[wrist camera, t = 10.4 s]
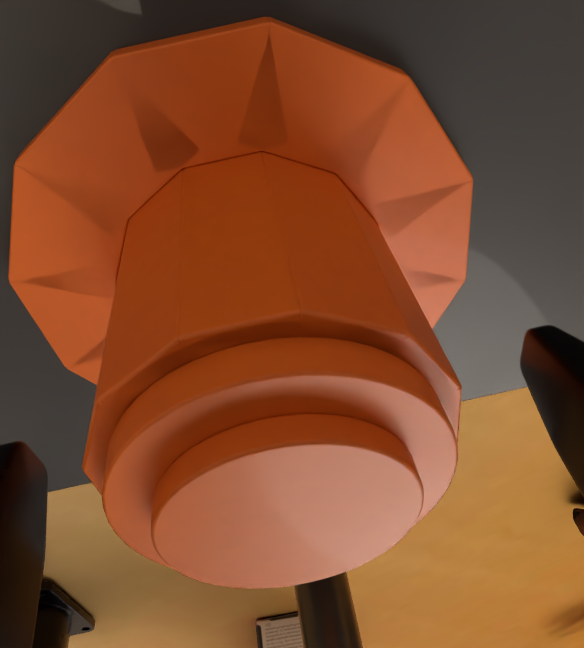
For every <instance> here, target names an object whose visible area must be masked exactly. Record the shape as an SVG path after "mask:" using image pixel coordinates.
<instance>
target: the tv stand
mask: <svg viewBox="0 0 584 648" xmlns="http://www.w3.org/2000/svg"><path fill="white" fill-rule="evenodd" d="M261 17H272V18H274V19H277V20H279V21H282V22H284V23H287V24H289V25H292V26H294V27H297V28H299V29H302V30H304V31H307V32H309V33H312V34H314V35H317V36H319V37H322V38H324V39H327V40H329V41H332V42H335V43H337V44H340V45H342V46H345V47H347V48H350V49H352V50H355V51H357V52H360V53H362V54H365V55H367V56H370V57H372V58H375V59H377V60H380V61H382V62H385V63H387V64H390V65H392V66H395V67H397V68H400V69H402V70H403V71H404V72H405V73H406V74H407V75H408V76H409V77H411V79H412V80H413V82H414V84H415V85H416V87H417V88H418V90H419V92H420V93H421V95H422V96H423V98H424V100H425V101H426V103H427V104H428V106H429V107H430V109H431V111H432V112H433V114H434V115H435V117H436V119H437V120H438V122H439V123H440V125H441V127H442V128H443V130H444V131H445V133H446V135H447V136H448V138H449V139H450V141H451V143H452V144H453V146H454V147H455V149H456V151H457V152H458V154H459V155H460V157H461V159H462V160H463V162H464V163H465V165H466V167H467V168H468V170H469V171H470V173H471V175H472V178H473V191H472V204H471V218H470V232H469V246H468V260H467V273H466V279H465V282H464V283H463V285H462V286H461V288H460V289H459V291H458V292H457V294H456V295H455V297H454V298H453V300H452V301H451V302H450V304H449V305H448V307H447V308H446V310H445V311H444V313H443V314H442V316H441V317H440V319H439V320H438V322H437V323H436V325H435V326H434V327H433V329H432V330H433V332H434V334H435V336H436V337H437V339H438V341H439V343H440V345H441V347H442V349H443V351H444V353H445V355H446V356H447V358H448V360H449V362H450V364H451V366H452V368H453V370H454V372H455V373H456V375H457V377H458V379H459V381H460V384H461V386H462V393H461V401H465V400H470V399H474V398H479V397H484V396H488V395H493V394H497V393H502V392H506V391H511V390H516V389H520V388H525V387H528V386H527V384H526V382H525V379H524V377H523V375H522V372H521V368H520V357H521V352H522V346H523V341H524V336H525V333H526V331H527V330H528V329H530V328H534V327H539V326H544V325H553V326H555V327H557V328H559V329H561V330H563V331H565V332H567V333H569V334H571V335H572V336H574V337H576V338H578V339H580V340H582V341H584V0H0V445H1V444H6V443H10V442H15V441H22V442H25V443H26V444H27V445H28V446H29V447H30V449H31V450H32V451H33V452H34V453H35V455H36V456H37V457H38V458H39V459H40V460H41V462H42V463H43V464H44V465H45V467H46V470H47V474H48V491H47V492H51V491H55V490H60V489H64V488H69V487H74V486H78V485H83V484H87V483H92V482H91V481H90V479H89V478H88V477H87V475H86V474H85V473H84V470H83V469H82V463H83V458H84V452H85V447H86V442H87V436H88V431H89V426H90V420H91V415H92V410H93V404H94V399H95V394H96V388H97V385H96V384H94V383H92V382H90V381H88V380H87V379H85V378H83V377H81V376H79V375H78V374H76V373H74V372H72V371H70V370H68V369H67V368H66V367H65V366H64V365H63V363H62V362H61V360H60V359H59V357H58V356H57V354H56V353H55V351H54V350H53V348H52V347H51V345H50V344H49V342H48V341H47V339H46V338H45V336H44V334H43V333H42V331H41V330H40V328H39V327H38V325H37V324H36V322H35V321H34V319H33V318H32V316H31V315H30V313H29V312H28V310H27V309H26V307H25V306H24V304H23V303H22V301H21V300H20V298H19V297H18V295H17V293H16V292H15V290H14V289H13V287H12V286H11V284H10V282H9V279H8V272H9V251H10V231H11V211H12V190H13V170H14V164H15V161H16V159H17V158H18V156H19V154H20V153H21V152H22V151H23V150H24V148H25V147H26V146H27V145H28V144H29V143H30V142H31V141H32V140H33V138H34V137H35V136H36V135H37V134H38V133H39V132H40V131H41V129H42V128H43V127H44V126H45V125H46V124H47V123H48V122H49V121H50V119H51V118H52V117H53V116H54V115H55V114H56V113H57V112H58V111H59V109H60V108H61V107H62V106H63V105H64V104H65V103H66V102H67V101H68V99H69V98H70V97H71V96H72V95H73V94H74V93H75V92H76V91H77V89H78V88H79V87H80V86H81V85H82V84H83V83H84V82H85V81H86V79H87V78H88V77H89V76H90V75H91V74H92V73H93V72H94V71H95V69H96V68H97V67H98V66H99V65H100V64H101V63H102V62H103V61H104V59H105V58H106V57H107V56H108V55H109V54H110V53H111V52H112V51H114V50H116V49H120V48H125V47H129V46H134V45H138V44H143V43H147V42H152V41H156V40H161V39H165V38H170V37H175V36H179V35H184V34H188V33H193V32H197V31H202V30H206V29H211V28H215V27H220V26H224V25H229V24H234V23H238V22H243V21H247V20H252V19H256V18H261Z"/></svg>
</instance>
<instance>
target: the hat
mask: <svg viewBox="0 0 584 648" xmlns="http://www.w3.org/2000/svg"><path fill="white" fill-rule="evenodd" d="M472 191H473V178H472V175H471V173H470V171H469V170H468V168H467V167H466V165H465V163H464V162H463V160H462V159H461V157H460V155H459V154H458V152H457V151H456V149H455V147H454V146H453V144H452V143H451V141H450V139H449V138H448V136H447V135H446V133H445V131H444V130H443V128H442V127H441V125H440V123H439V122H438V120H437V119H436V117H435V115H434V114H433V112H432V111H431V109H430V107H429V106H428V104H427V103H426V101H425V100H424V98H423V96H422V95H421V93H420V92H419V90H418V88H417V87H416V85H415V84H414V82H413V80H412V79H411V77H409V76H408V75H407V74H406V73H405V72H404V71H403V70H402V69H400V68H397V67H395V66H392V65H390V64H387V63H385V62H382V61H380V60H377V59H375V58H372V57H370V56H367V55H365V54H362V53H360V52H357V51H355V50H352V49H350V48H347V47H345V46H342V45H340V44H337V43H335V42H332V41H329V40H327V39H324V38H322V37H319V36H317V35H314V34H312V33H309V32H307V31H304V30H302V29H299V28H297V27H294V26H292V25H289V24H287V23H284V22H282V21H279V20H277V19H274V18H272V17H261V18H256V19H252V20H247V21H243V22H238V23H234V24H229V25H224V26H220V27H215V28H211V29H206V30H202V31H197V32H193V33H188V34H184V35H179V36H175V37H170V38H165V39H161V40H156V41H152V42H147V43H143V44H138V45H134V46H129V47H125V48H120V49H116V50H114V51H112V52H111V53H110V54H109V55H108V56H107V57H106V58H105V59H104V61H103V62H102V63H101V64H100V65H99V66H98V67H97V68H96V69H95V71H94V72H93V73H92V74H91V75H90V76H89V77H88V78H87V79H86V81H85V82H84V83H83V84H82V85H81V86H80V87H79V88H78V89H77V91H76V92H75V93H74V94H73V95H72V96H71V97H70V98H69V99H68V101H67V102H66V103H65V104H64V105H63V106H62V107H61V108H60V109H59V111H58V112H57V113H56V114H55V115H54V116H53V117H52V118H51V119H50V121H49V122H48V123H47V124H46V125H45V126H44V127H43V128H42V129H41V131H40V132H39V133H38V134H37V135H36V136H35V137H34V138H33V140H32V141H31V142H30V143H29V144H28V145H27V146H26V147H25V148H24V150H23V151H22V152H21V153H20V154H19V156H18V158H17V159H16V161H15V164H14V170H13V190H12V211H11V231H10V251H9V272H8V279H9V282H10V284H11V286H12V287H13V289H14V290H15V292H16V293H17V295H18V297H19V298H20V300H21V301H22V303H23V304H24V306H25V307H26V309H27V310H28V312H29V313H30V315H31V316H32V318H33V319H34V321H35V322H36V324H37V325H38V327H39V328H40V330H41V331H42V333H43V334H44V336H45V338H46V339H47V341H48V342H49V344H50V345H51V347H52V348H53V350H54V351H55V353H56V354H57V356H58V357H59V359H60V360H61V362H62V363H63V365H64V366H65V367H66V368H67V369H68V370H70V371H72V372H74V373H76V374H78V375H79V376H81V377H83V378H85V379H87V380H88V381H90V382H92V383H94V384H96V385H97V388H96V394H95V399H94V404H93V410H92V415H91V420H90V426H89V431H88V436H87V442H86V447H85V452H84V458H83V463H82V469H83V470H84V473H85V474H86V475H87V477H88V478H89V479H90V481H91V482H92V483H93V484H94V486H95V487H96V488H97V490H98V491H99V492H100V494H101V495H102V502H103V508H104V511H105V514H106V517H107V519H108V522H109V524H110V525H111V527H112V528H113V530H114V531H115V533H116V534H117V535H118V536H119V537H120V538H121V539H122V540H123V541H124V542H125V543H126V544H127V545H128V546H129V547H131V548H132V549H133V550H135V551H136V552H138V553H139V554H141V555H143V556H145V557H147V558H148V559H150V560H152V561H155V562H157V563H160V564H162V565H164V566H167V567H170V568H173V569H174V570H176V571H178V572H179V573H181V574H183V575H185V576H187V577H190V578H192V579H195V580H198V581H201V582H205V583H208V584H213V585H219V586H225V587H233V588H275V587H285V586H292V585H299V584H304V583H309V582H313V581H317V580H321V579H325V578H328V577H332V576H335V575H338V574H341V573H344V572H346V571H349V570H351V569H354V568H356V567H358V566H360V565H363V564H365V563H367V562H369V561H371V560H372V559H374V558H376V557H378V556H379V555H381V554H383V553H384V552H386V551H387V550H389V549H390V548H391V547H393V546H394V545H395V544H396V543H398V542H399V541H400V540H401V539H402V538H403V537H404V536H405V535H406V534H407V533H408V532H409V531H410V529H411V528H412V527H413V526H414V525H415V524H416V523H417V522H419V521H420V520H421V519H422V518H423V517H424V516H425V515H426V514H428V513H429V512H430V511H431V510H432V509H433V508H434V506H435V505H436V504H437V503H438V502H439V500H440V499H441V498H442V497H443V495H444V494H445V492H446V490H447V489H448V487H449V485H450V483H451V481H452V478H453V476H454V473H455V470H456V465H457V460H458V447H457V443H458V431H459V418H460V406H461V393H462V386H461V384H460V381H459V379H458V377H457V375H456V373H455V372H454V370H453V368H452V366H451V364H450V362H449V360H448V358H447V356H446V355H445V353H444V351H443V349H442V347H441V345H440V343H439V341H438V339H437V337H436V336H435V334H434V332H433V330H432V329H433V327H434V326H435V325H436V323H437V322H438V320H439V319H440V317H441V316H442V314H443V313H444V311H445V310H446V308H447V307H448V305H449V304H450V302H451V301H452V300H453V298H454V297H455V295H456V294H457V292H458V291H459V289H460V288H461V286H462V285H463V283H464V282H465V279H466V273H467V260H468V246H469V232H470V218H471V204H472Z"/></svg>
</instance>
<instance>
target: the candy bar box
mask: <svg viewBox="0 0 584 648" xmlns="http://www.w3.org/2000/svg"><path fill="white" fill-rule="evenodd" d="M256 632H257V643H258V648H303V642H302V635H301V628H300V621H299V614H298V613H294V614H288V615H283V616H278V617H273V618H268V619H263V620H258V621H256Z"/></svg>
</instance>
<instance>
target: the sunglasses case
mask: <svg viewBox="0 0 584 648" xmlns="http://www.w3.org/2000/svg"><path fill="white" fill-rule="evenodd" d="M573 519H574V521H575V524H576V525H577V527H578V529H579V530H580V532H581V533H582V535H583V536H584V509H578V508H575V509H574V510H573Z"/></svg>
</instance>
